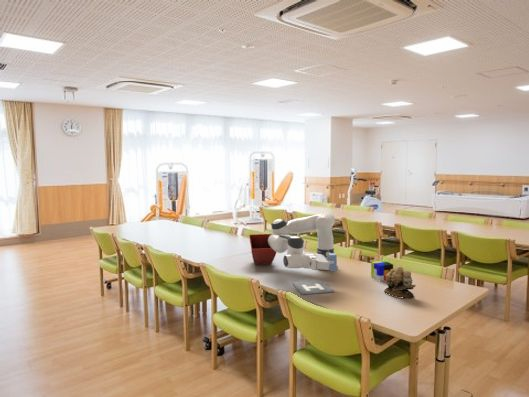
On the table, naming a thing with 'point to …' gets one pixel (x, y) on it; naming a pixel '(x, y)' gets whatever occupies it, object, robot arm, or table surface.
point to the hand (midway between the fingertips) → (332, 260)
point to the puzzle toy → (380, 269)
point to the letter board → (312, 288)
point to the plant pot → (261, 249)
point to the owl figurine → (399, 283)
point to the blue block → (333, 257)
